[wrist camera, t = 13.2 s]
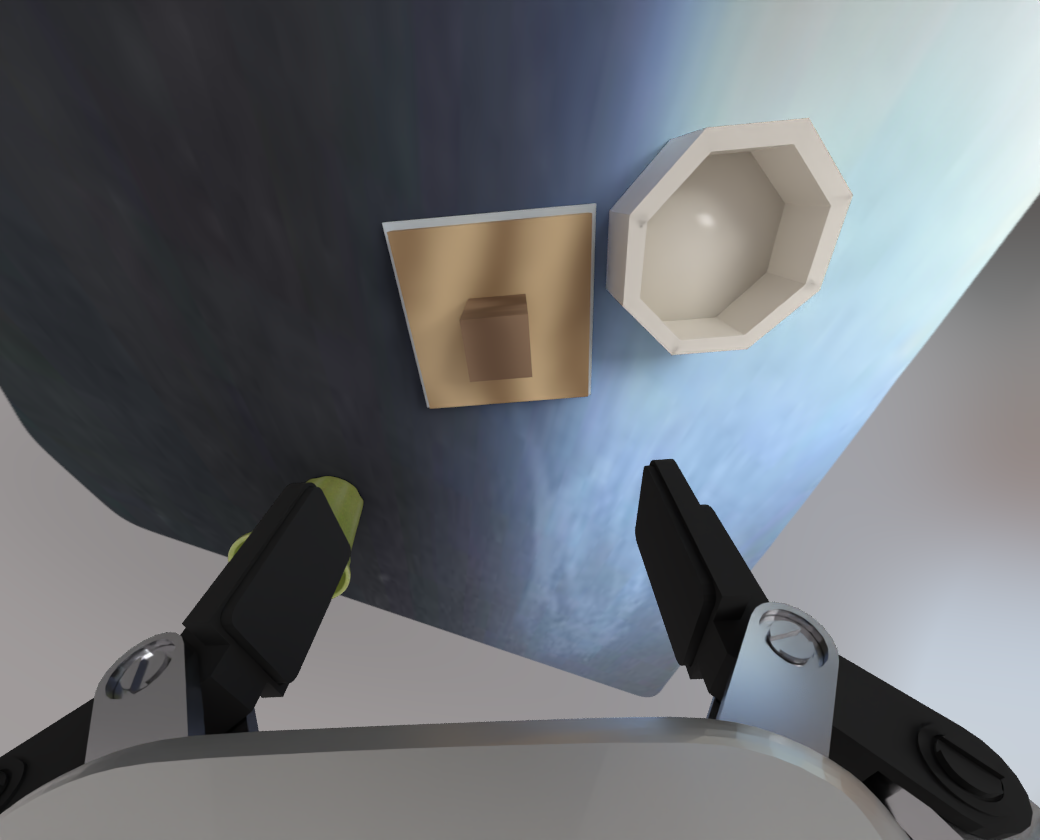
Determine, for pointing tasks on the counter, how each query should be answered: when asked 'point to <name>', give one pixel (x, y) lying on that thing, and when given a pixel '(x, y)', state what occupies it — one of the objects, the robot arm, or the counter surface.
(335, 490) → the plant pot
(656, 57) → the counter surface
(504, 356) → the lid
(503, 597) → the counter surface
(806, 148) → the bowl
